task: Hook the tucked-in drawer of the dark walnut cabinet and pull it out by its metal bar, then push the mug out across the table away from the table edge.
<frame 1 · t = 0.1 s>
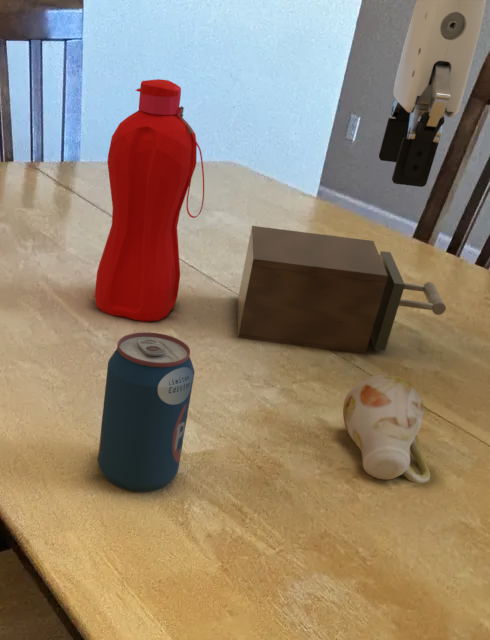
hand: (400, 172, 88), 20 cm above the table, tool pointing down, fingers open, 9 cm apart
drawer: (354, 296, 102), point 5 cm above the table, slide at 1.0 cm
cabinet: (297, 328, 106), on the table
water bottle: (141, 312, 106), on the table
mug: (378, 462, 81), on the table
soda can: (135, 478, 75), on the table
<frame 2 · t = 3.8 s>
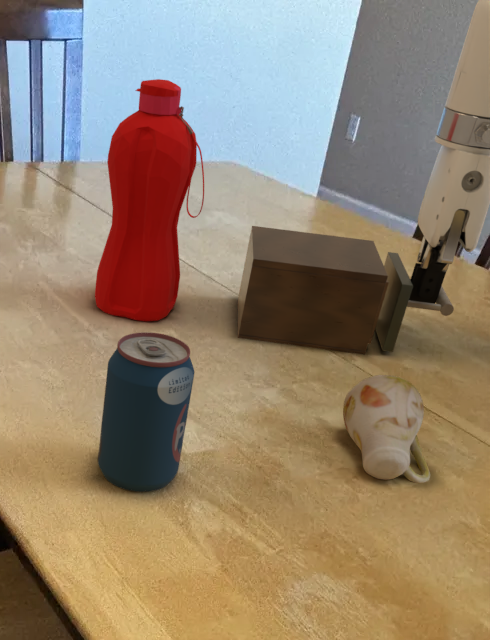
hand: (420, 300, 102), 5 cm above the table, tool pointing down, fingers closed
drawer: (362, 297, 102), point 5 cm above the table, slide at 1.9 cm
everything else where it was.
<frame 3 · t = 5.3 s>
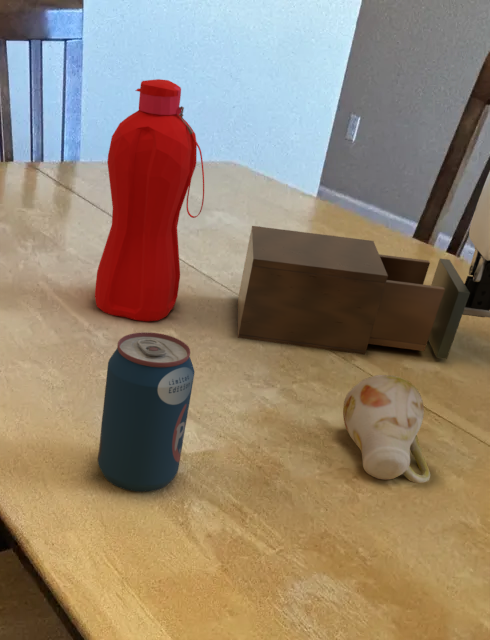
hand: (471, 313, 102), 5 cm above the table, tool pointing down, fingers closed
drawer: (414, 303, 102), point 5 cm above the table, slide at 8.0 cm, touching gripper
everything else where it was.
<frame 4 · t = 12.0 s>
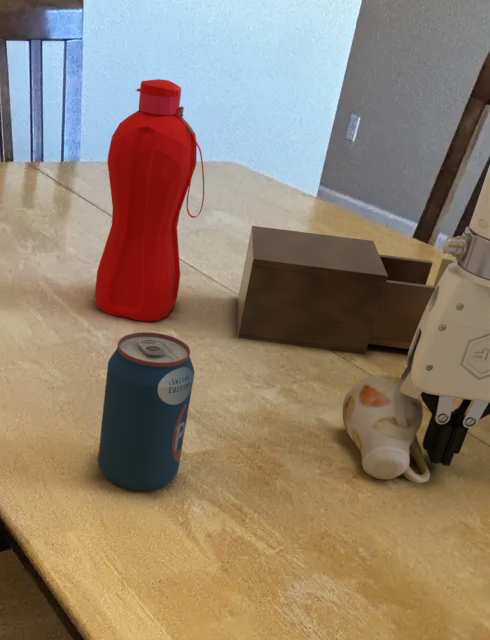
hand: (437, 457, 80), 1 cm above the table, tool pointing down, fingers closed
drawer: (417, 304, 102), point 5 cm above the table, slide at 8.3 cm
mug: (378, 462, 81), on the table, touching gripper
everything else where it was.
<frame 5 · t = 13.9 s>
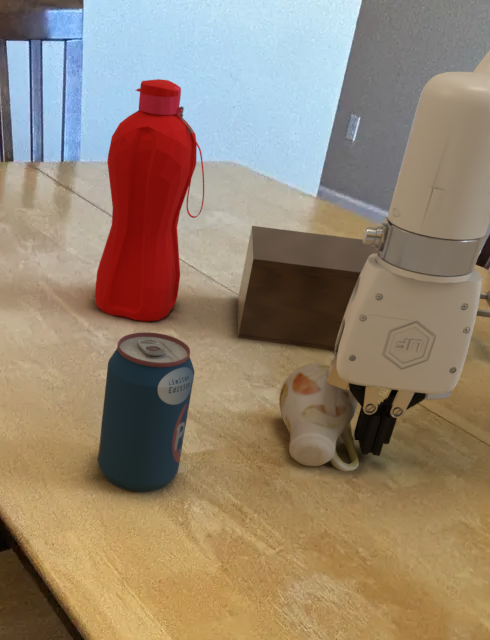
hand: (368, 447, 80), 1 cm above the table, tool pointing down, fingers closed
mug: (311, 450, 82), on the table, touching gripper
everything else where it was.
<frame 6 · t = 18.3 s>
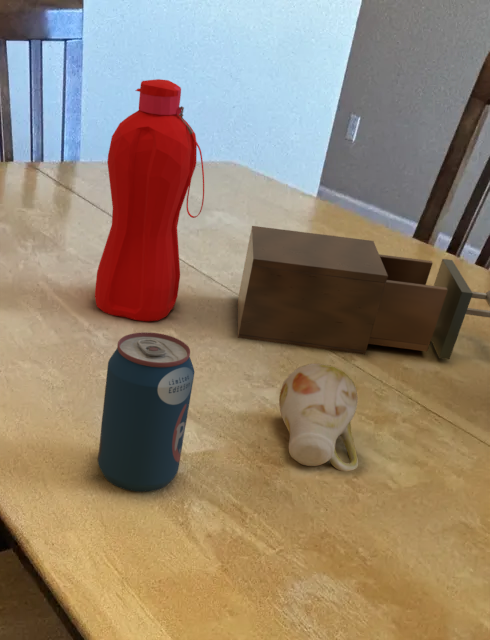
mug: (311, 450, 82), on the table
everything else where it was.
at the end: drawer slide at 8.3 cm; mug moved 6.3 cm from its start; mug tilted 0° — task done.
